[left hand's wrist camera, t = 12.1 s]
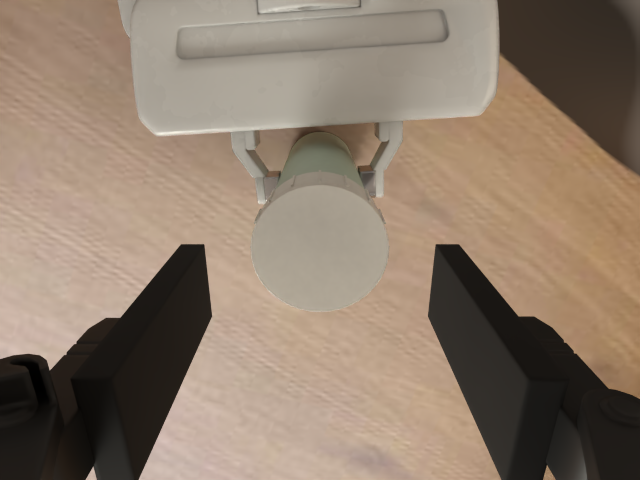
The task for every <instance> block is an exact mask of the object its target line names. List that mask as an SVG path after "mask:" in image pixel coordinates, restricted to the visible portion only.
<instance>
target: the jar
mask: <svg viewBox="0 0 640 480" xmlns="http://www.w3.org/2000/svg"><path fill="white" fill-rule="evenodd" d="M319 170H321V172H330V173H335V174H339V175H342V176H344V175H346V176H347V178H349V179H351V180H352V181H354V182H356V183H357V184H358V185H360V186H361V187H362V188H363V189H364V186H363V184H362V181H361V179H360V176H359V173H358V171H357V168H356V166H355V163H354V161H353V158H352V156H351V153H350V150H349V149H348V147H347V145H346V144H345V143H344V142H343V141H342V140H341V139H340V138H339V137H337V136H335V135H333V134H331V133H327V132H313V133H309V134H307V135H305V136H303V137H302V138H300V139H299V140H298V141H297V142H296V143H295V144H294V146H293V147H292V149H291V151H290V154H289V156H288V159H287V161H286V164H285V166H284V169H283V171H282V174H281V176H280V179H279V181H278V184H277V186H276V188H277V187H279V186H280V185H281V184H283V183H284V182H286V181H287V180H289V179H291V178H293V175H296V176H298V175H301V174H305V173H310V172H319ZM275 190H276V189H275ZM364 190H365V189H364Z"/></svg>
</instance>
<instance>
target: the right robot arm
mask: <svg viewBox="0 0 640 480" xmlns="http://www.w3.org/2000/svg"><path fill="white" fill-rule="evenodd" d="M118 5H119V10H120V15H121V19H122V24H123V27H124V29H125V32H126V34H127V35H128V37H129V38H130V50H131V66H132V78H133V86H134V94H135V101H136V107H137V113H138V116H139V119H140V121H141V122H142V123H143V124H144V125H145V126H146V127H147V128H148V129H149V130H150V131H151V132H152V133H153V134H154V135H156V136H174V135H190V134H205V133H221V132H230V134H231V142H232V149H233V152H234V154H235V155H236V156H237V158H238V159H239V160H240V162H241V163H242V164H243V166H244V167H245V168H246V170H247V171H248V172H249V174H250V175H251V176H252V177H253V178H255V183H256V191H257V199H258V203H259V204H265V203H266V201H267V199H268V198H269V196H270V195H271V192H272V190H273V189H276V186H277V184H278V181H279V179H280V176H281V171H268V169H267V168H266V166H265V165H264V163H263V162H262V160H261V159H260V157H259V156H258V155H257V153H256V152H255V150H254V149H255V148H256V147H257V146H258V145H259V144H260V135H259V130H268V129H283V128H299V127H314V126H330V125H345V124H361V123H375V136H376V137H377V138H378V139H379V140H380V141H381V144H380V146H379V148H378V150H377V152H376V154H375V156H374V158H373V160H372V161H371V163H370V165H365V166H358V173H359V176H360V179H361V181H362V184H363V186H364V189H367V190H368V193H369V195H370V197H371V198H373V197H383V196H384V170H386V169H387V167H388V165H389V164H390V162H391V160H392V158H393V157H394V155H395V153H396V151H397V150H398V148H399V146H400V145H401V143H402V141H403V121H408V120H423V119H439V118H454V117H469V116H479V115H481V114H482V113H483V112H484V111H485V110H486V108H487V107H488V106H489V104H490V103H491V102H492V100H493V99H494V98H495V95H496V92H497V85H498V73H499V18H498V3H497V0H118Z"/></svg>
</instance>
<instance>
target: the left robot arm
mask: <svg viewBox="0 0 640 480" xmlns="http://www.w3.org/2000/svg"><path fill="white" fill-rule="evenodd" d="M211 317H212V312H211V302H210V293H209V284H208V275H207V266H206V256H205V247H204V244H181V245H180V246H179V248H178V249H177V250H176V251H175V252H174V254H173V255H172V256H171V257H170V259H169V260H168V261H167V262H166V263H165V265H164V266H163V267H162V268H161V269H160V271H159V272H158V273H157V274H156V275H155V277H154V278H153V279H152V280H151V282H150V283H149V284H148V285H147V286H146V288H145V289H144V290H143V291H142V292H141V294H140V295H139V296H138V297H137V298H136V300H135V301H134V302H133V303H132V305H131V306H130V307H129V308H128V309H127V311H126V312H125V313H124V314H123V315H122V317H121V318H105V319H104V320H102V321H100V322H99V323H97V324H96V325H94V326H92V327H91V328H89V329H88V330H87V331H86V332H85V333H84V334H83V335H82V336H81V337H80V339H79V340H78V341H77V344H74V345H73V346H72V347H71V348H70V349H69V351H68V352H67V355H64V356H63V357H62V358H61V359H60V360H59V361H58V363H57V364H56V365H55V366H54V367H53V368H52V369H51V370H49V367H48V363H47V360H46V359H44V358H43V357H41V356H40V355H33V354H23V355H13V356H10V357H6V358H3V359H0V480H86V478H87V476H88V474H89V473H90V471H91V469H92V467H93V466H94V470H95V474H96V477H97V480H139V477H140V475H141V473H142V471H143V469H144V466H145V464H146V462H147V460H148V457H149V455H150V453H151V451H152V449H153V446H154V444H155V442H156V440H157V437H158V435H159V433H160V431H161V429H162V426H163V424H164V422H165V420H166V417H167V415H168V413H169V411H170V409H171V406H172V404H173V402H174V400H175V397H176V395H177V393H178V391H179V389H180V386H181V384H182V382H183V380H184V377H185V375H186V373H187V371H188V369H189V366H190V364H191V362H192V360H193V357H194V355H195V353H196V351H197V349H198V346H199V344H200V342H201V340H202V337H203V335H204V333H205V331H206V329H207V326H208V324H209V322H210V320H211ZM428 317H429V320H430V322H431V324H432V326H433V329H434V331H435V333H436V335H437V337H438V340H439V342H440V344H441V346H442V349H443V351H444V353H445V355H446V357H447V360H448V362H449V364H450V366H451V369H452V371H453V373H454V375H455V377H456V380H457V382H458V384H459V386H460V389H461V391H462V393H463V395H464V397H465V400H466V402H467V404H468V406H469V409H470V411H471V413H472V415H473V417H474V420H475V422H476V424H477V426H478V429H479V431H480V433H481V435H482V437H483V440H484V442H485V444H486V446H487V449H488V451H489V453H490V455H491V457H492V460H493V462H494V464H495V466H496V469H497V471H498V473H499V475H500V477H501V480H543V477H544V474H545V470H546V466H547V465H548V467H549V469H550V470H551V472H552V474H553V476H554V477H555V479H556V480H640V399H638V398H636V397H634V396H633V395H630V394H627V393H624V392H621V391H618V390H613V389H608V388H607V387H606V385H605V384H604V383H603V382H602V381H601V380H600V379H599V378H598V377H597V376H596V375H595V374H594V372H593V371H592V370H591V369H590V368H589V367H588V366H587V365H586V364H585V363H584V362H583V361H582V359H581V358H580V357H579V356H578V355H577V354H574V351H573V350H572V349H571V348H570V347H569V345H568V344H567V343H564V340H563V339H562V338H561V337H560V336H559V335H558V334H557V332H556V331H555V330H554V329H553V328H552V327H550V326H549V325H547V324H545V323H544V322H542V321H540V320H539V319H537V318H536V317H518V315H517V314H516V313H515V312H514V311H513V309H512V308H511V307H510V306H509V305H508V303H507V302H506V301H505V300H504V298H503V297H502V296H501V295H500V294H499V292H498V291H497V290H496V289H495V288H494V286H493V285H492V284H491V283H490V282H489V280H488V279H487V278H486V277H485V275H484V274H483V273H482V272H481V271H480V269H479V268H478V267H477V266H476V265H475V263H474V262H473V261H472V260H471V259H470V257H469V256H468V255H467V254H466V252H465V251H464V250H463V249H462V248H461V246H460V245H459V244H436V247H435V256H434V265H433V275H432V284H431V293H430V302H429V312H428Z"/></svg>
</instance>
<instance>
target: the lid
mask: <svg viewBox="0 0 640 480" xmlns="http://www.w3.org/2000/svg"><path fill="white" fill-rule="evenodd" d="M254 224H256V225H255V227H254V230H253V234H252V238H251V246H250V247H251V258H252V263H253V266H254V269H255V272H256V274H257V275H258V277H259V279H260V281H261V282H262V284H263V285H264V286H265V287H266V289H267V290H268V291H269V292H270V293H271V294H273V295H274V296H275V297H276V298H277V299H279V300H281V301H282V302H284V303H286V304H288V305H290V306H292V307H295V308H298V309H301V310H305V311H312V312H327V311H334V310H339V309H342V308H345V307H348V306H350V305H352V304H354V303H356V302H358V301H359V300H361V299H362V298H364V297H365V296H366V295H367V294H368V293H370V291H371V290H372V289H373V288H374V287H375V286H376V285H377V283H378V282H379V280H380V279H381V277H382V275H383V273H384V271H385V268H386V265H387V261H388V256H389V240H388V235H387V231H386V228H385V226H384V224H386V222H385V220H384V218H383V216H382V213H381V211H380V209H377V207H376V205H375V203H374V201H373V199H372V198H371V197H370V195H369V193H368V190H367V189H365V190H364V189H363V188H362V187H361V186H360V185H358V184H357V183H356V182H354V181H352V180H351V179H349V178H347V176H346V175H344V176H342V175H339V174H335V173H330V172H321V170H319V172H310V173H305V174H301V175H298V176H296V175H293V178H291V179H289V180H287V181H286V182H284V183H283V184H281V185H280V186H279V187H277V188H276V190H275V189H273V190H272V192H271V195H270V196H269V198H268V199H267V201H266V203H265V204H264V206H263V208H262V209H260V211H259V213H258V215H257V217H256V219H255V222H254Z"/></svg>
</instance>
